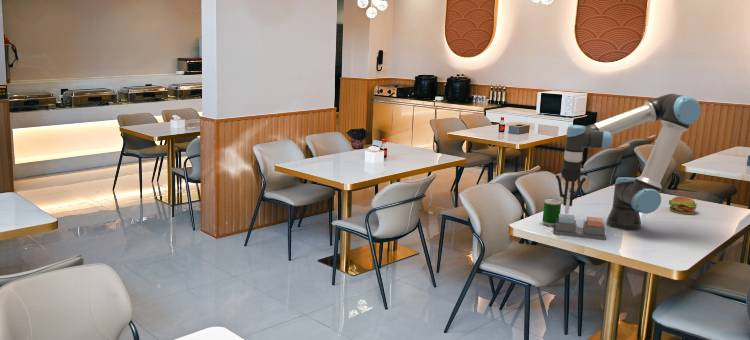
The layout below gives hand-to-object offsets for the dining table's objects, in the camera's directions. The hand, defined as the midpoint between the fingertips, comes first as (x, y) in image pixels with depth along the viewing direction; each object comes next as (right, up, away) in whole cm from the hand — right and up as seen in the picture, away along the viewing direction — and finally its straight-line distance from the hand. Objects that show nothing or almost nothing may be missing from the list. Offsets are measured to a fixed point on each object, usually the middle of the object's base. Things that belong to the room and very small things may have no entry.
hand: (566, 212), depth 295 cm
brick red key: (+12, -6, -2) cm, 13 cm away
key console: (+6, -9, 0) cm, 11 cm away
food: (+75, -3, +52) cm, 91 cm away
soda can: (-4, -7, +13) cm, 15 cm away
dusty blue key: (0, -4, +1) cm, 4 cm away
